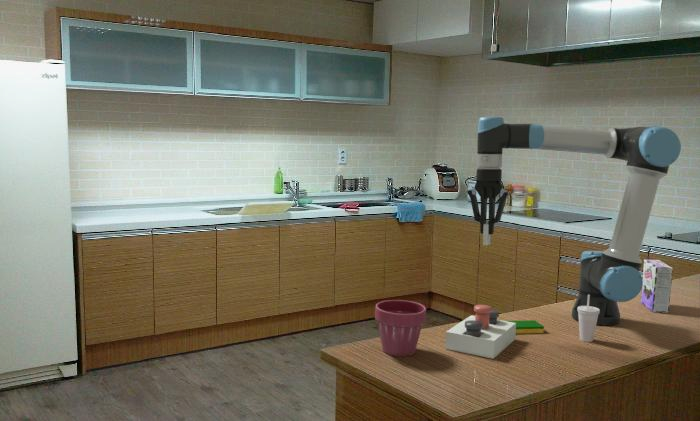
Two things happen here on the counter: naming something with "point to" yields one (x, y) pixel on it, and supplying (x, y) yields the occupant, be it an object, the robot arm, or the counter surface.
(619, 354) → the counter surface
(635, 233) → the robot arm
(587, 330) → the smoothie
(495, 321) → the knob
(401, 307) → the plant pot
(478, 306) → the pink round knob
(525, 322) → the dish sponge
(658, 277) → the candy box
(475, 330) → the knob
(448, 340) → the mount
